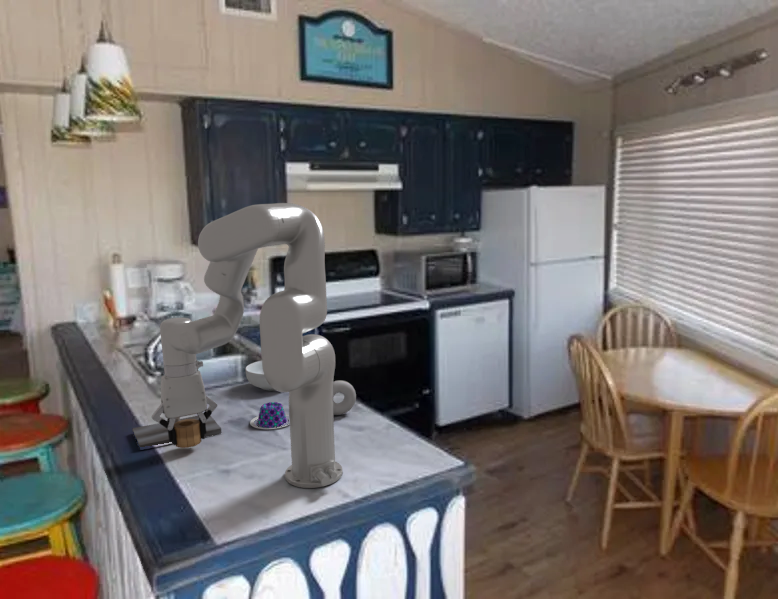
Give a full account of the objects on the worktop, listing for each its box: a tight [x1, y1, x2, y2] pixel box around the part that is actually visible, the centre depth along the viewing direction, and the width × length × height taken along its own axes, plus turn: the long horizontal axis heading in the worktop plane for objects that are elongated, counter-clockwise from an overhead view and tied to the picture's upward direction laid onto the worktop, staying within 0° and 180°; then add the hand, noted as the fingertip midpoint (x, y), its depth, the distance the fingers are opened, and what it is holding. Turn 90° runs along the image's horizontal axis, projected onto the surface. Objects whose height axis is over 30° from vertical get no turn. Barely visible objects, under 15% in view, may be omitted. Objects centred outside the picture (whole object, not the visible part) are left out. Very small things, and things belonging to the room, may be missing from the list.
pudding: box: [249, 401, 290, 430], centre depth 167 cm, size 12×12×5 cm
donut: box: [333, 380, 357, 416], centre depth 171 cm, size 10×4×10 cm, turn 111°
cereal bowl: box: [245, 360, 276, 391], centre depth 198 cm, size 17×17×7 cm
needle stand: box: [132, 414, 223, 447], centre depth 160 cm, size 13×20×8 cm, turn 120°
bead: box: [174, 419, 203, 449], centre depth 149 cm, size 6×6×5 cm
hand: (188, 439), depth 150 cm, fingers closed on bead, 6 cm apart
